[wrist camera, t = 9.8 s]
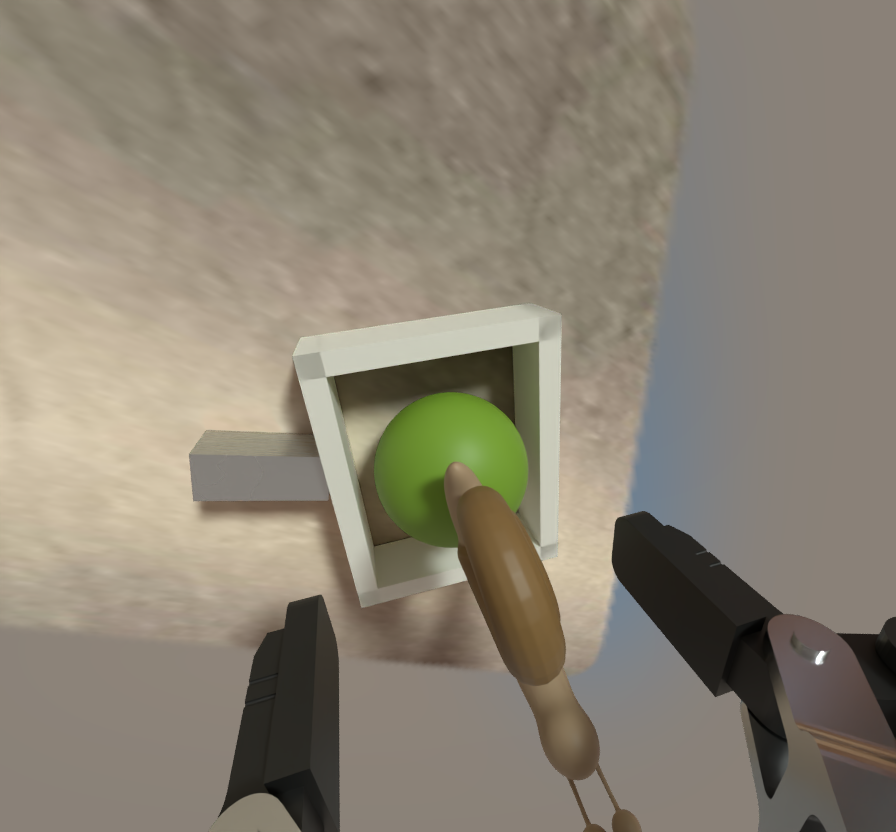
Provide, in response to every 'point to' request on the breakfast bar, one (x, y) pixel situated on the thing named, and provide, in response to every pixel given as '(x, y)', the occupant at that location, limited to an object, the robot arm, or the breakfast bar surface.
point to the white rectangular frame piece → (329, 453)
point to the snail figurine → (491, 556)
